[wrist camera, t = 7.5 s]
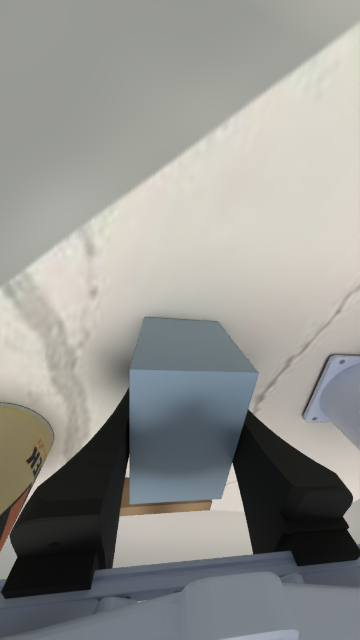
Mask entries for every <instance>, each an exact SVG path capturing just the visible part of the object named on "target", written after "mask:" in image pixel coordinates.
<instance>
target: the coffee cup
mask: <svg viewBox="0 0 360 640" xmlns="http://www.w3.org/2000/svg"><path fill="white" fill-rule="evenodd" d="M53 438H54V437H53V431H52V428H51V427H50V425H49V424H48V422H47V421H46V420H45V419H44V418H43V417H41V416H40V415H39V414H37V413H36V412H34V411H32V410H30V409H27V408H25V407H22V406H18V405H14V404H9V403H0V551H1V549H2V547H3V545H4V543H5V541H6V539H7V537H8V535H9V533H10V531H11V529H12V527H13V525H14V523H15V521H16V519H17V517H18V515H19V513H20V511H21V509H22V507H23V505H24V503H25V501H26V499H27V497H28V494H29V492H30V490H31V488H32V486H33V484H34V482H35V480H36V478H37V476H38V474H39V472H40V470H41V468H42V466H43V464H44V462H45V460H46V458H47V455H48V453H49V451H50V449H51V446H52V444H53Z"/></svg>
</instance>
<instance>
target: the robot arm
mask: <svg viewBox="0 0 360 640" xmlns="http://www.w3.org/2000/svg"><path fill="white" fill-rule="evenodd" d="M303 418H304V420H305V421H306V422H332V423H333V424H334V425H335V426H336V427H337V428H338V429H339V430H340V431H341V432H342V433H343V434H344V435H345V436H346V437H347V438H348V439H349V440H350V441H351V442H352V443H353V444H354V445H355V446H356V447H357V448H358V449H359V450H360V356H349V355H333V356H331V357H330V358H329V360H328V362H327V365H326V367H325V369H324V371H323V374H322V376H321V378H320V380H319V382H318V385H317V387H316V389H315V391H314V394H313V396H312V398H311V400H310V402H309V405H308V407H307V409H306V411H305V414H304V416H303ZM129 454H130V387H129V388H128V390H127V392H126V394H125V395H124V397H123V399H122V400H121V402H120V403H119V405H118V406H117V408H116V409H115V411H114V412H113V414H112V415H111V416H110V417H109V419H108V420H107V421H106V423H105V424H104V425H103V426H102V428H101V429H100V430H99V431H98V432H97V433H96V434H95V436H94V437H93V438H92V439H91V440H90V441H89V442H88V443H87V444H86V445H85V446H84V447H83V448H82V449H81V450H80V451H79V452H78V453H77V454H76V455H75V456H74V457H73V458H71V459H70V460H69V461H68V462H67V463H66V464H65V465H64V466H63V467H61V468H60V469H59V470H58V471H57V472H56V473H54V474H53V475H52V476H51V477H49V478H48V479H47V480H46V481H44V482H43V483H42V484H41V485H39V486H38V487H37V489H36V490H35V492H34V493H33V495H32V496H31V498H30V499H29V501H28V502H27V504H26V505H25V507H24V509H23V510H22V512H21V514H20V516H19V518H18V520H17V521H16V523H15V525H14V527H13V529H12V531H11V533H10V540H11V544H12V546H13V548H14V550H15V552H16V554H17V559H16V561H15V564H14V566H13V567H12V570H11V572H10V574H9V576H8V578H7V579H1V580H0V640H360V544H356V543H355V542H354V540H353V538H352V537H351V535H350V534H349V532H348V530H347V529H348V528H349V526H348V524H347V522H346V521H345V519H344V518H343V515H344V514H345V512H346V511H347V510H348V508H349V507H350V506H351V504H352V502H353V496H352V493H351V492H350V491H349V489H348V488H347V487H346V486H345V484H344V483H343V482H342V481H341V479H340V478H339V477H338V475H337V474H336V473H334V472H333V471H331V470H329V469H328V468H326V467H324V466H322V465H321V464H319V463H317V462H315V461H314V460H312V459H310V458H309V457H307V456H306V455H304V454H303V453H301V452H300V451H298V450H297V449H295V448H294V447H292V446H291V445H289V444H288V443H287V442H285V441H284V440H283V439H281V438H280V437H279V436H277V435H276V434H275V433H274V432H272V431H271V430H270V429H269V428H268V427H266V426H265V425H264V424H263V423H262V422H261V421H260V420H259V419H258V418H256V417H255V416H254V415H253V414H252V413H251V412H250V411H249V410H248V411H247V414H246V417H245V421H244V424H243V427H242V431H241V434H240V437H239V441H238V444H237V448H236V451H235V454H234V458H233V461H232V463H233V466H234V470H235V474H236V478H237V481H238V485H239V490H240V494H241V498H242V502H243V507H244V511H245V515H246V520H247V525H248V530H249V535H250V540H251V545H252V550H253V555H243V556H234V557H223V558H213V559H203V560H193V561H183V562H172V563H162V564H152V565H142V566H133V567H122V568H112V566H113V559H114V552H115V544H116V537H117V536H116V535H117V530H118V522H119V515H120V508H121V501H122V495H123V488H124V481H125V475H126V468H127V463H128V458H129ZM144 600H146V601H144ZM137 601H143V602H139V603H138V602H137Z"/></svg>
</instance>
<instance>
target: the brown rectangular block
mask: <svg viewBox="0 0 360 640" xmlns="http://www.w3.org/2000/svg"><path fill="white" fill-rule="evenodd" d="M211 504H212V500H211V499H210V500H193V501H176V502H159V503H143V504H130V478H125V481H124V488H123V495H122V501H121V508H120V515H119V516H128V515H143V514H157V513H173V512H188V511H203V510H210V507H211Z"/></svg>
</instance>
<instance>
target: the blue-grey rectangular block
mask: <svg viewBox="0 0 360 640" xmlns="http://www.w3.org/2000/svg"><path fill="white" fill-rule="evenodd" d="M258 374H259V373H258V371H257V370H256V369H255V368H254V366H253V365H252V364H251V363H250V361H249V360H248V359H247V358H246V356H245V355H244V354H243V353H242V351H241V350H240V349H239V348H238V346H237V345H236V344H235V343H234V341H233V340H232V339H231V338H230V336H229V335H228V334H227V333H226V331H225V330H224V329H223V328H222V326H221V325H220V324H219V323H218V322H217V321H201V320H184V319H168V318H151V317H145V318H144V321H143V325H142V328H141V332H140V335H139V338H138V342H137V345H136V349H135V352H134V356H133V359H132V363H131V366H130V504H143V503H159V502H176V501H193V500H210V499H221V498H222V495H223V491H224V488H225V485H226V481H227V478H228V475H229V471H230V468H231V464H232V461H233V458H234V454H235V451H236V448H237V444H238V441H239V437H240V434H241V431H242V427H243V424H244V421H245V417H246V414H247V411H248V407H249V404H250V400H251V397H252V394H253V390H254V387H255V384H256V380H257V377H258Z"/></svg>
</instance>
